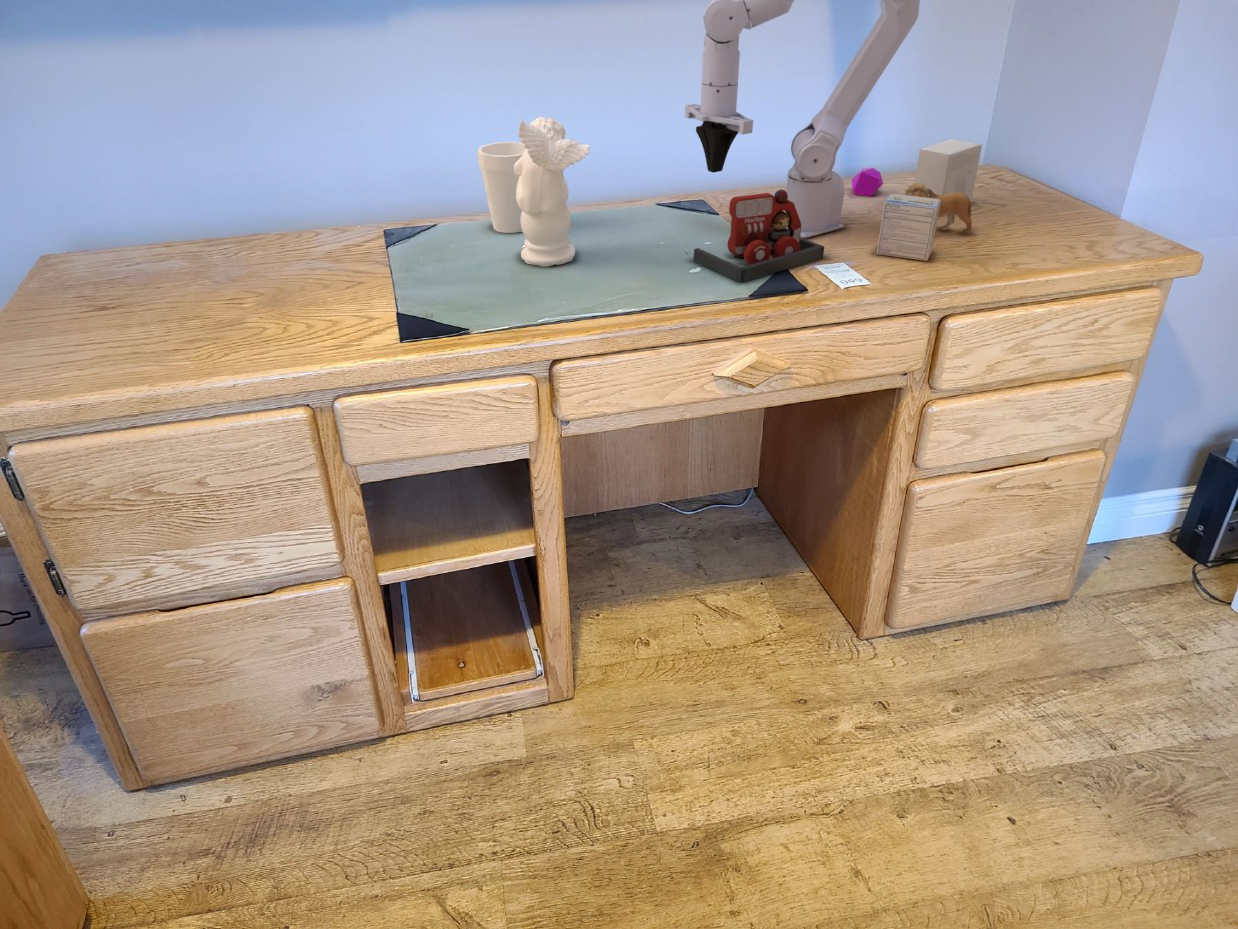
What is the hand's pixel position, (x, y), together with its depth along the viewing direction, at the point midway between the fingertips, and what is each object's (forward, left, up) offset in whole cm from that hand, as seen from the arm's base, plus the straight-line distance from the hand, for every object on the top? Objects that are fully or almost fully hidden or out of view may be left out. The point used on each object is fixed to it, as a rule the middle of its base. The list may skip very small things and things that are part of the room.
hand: (715, 170), depth 148 cm
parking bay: (+4, +17, -9) cm, 20 cm away
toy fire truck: (+4, +17, -10) cm, 19 cm away
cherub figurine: (+30, -2, -10) cm, 32 cm away
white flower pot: (+28, -20, -10) cm, 36 cm away
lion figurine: (-27, +25, -10) cm, 38 cm away
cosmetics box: (-41, +15, -10) cm, 45 cm away
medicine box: (-16, +28, -10) cm, 34 cm away
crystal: (-36, +2, -10) cm, 37 cm away
